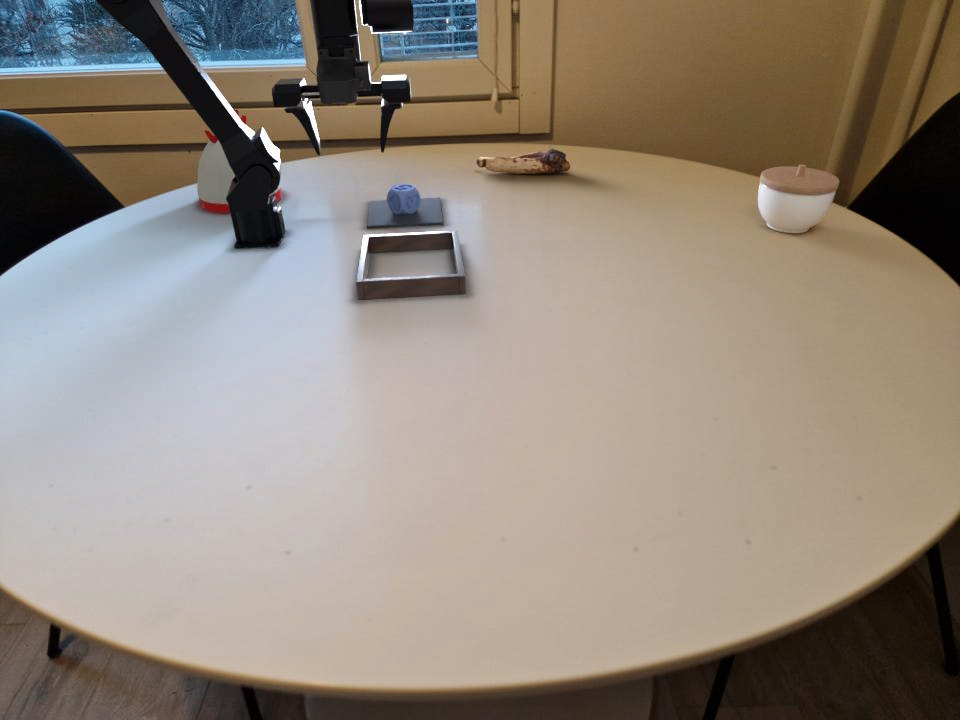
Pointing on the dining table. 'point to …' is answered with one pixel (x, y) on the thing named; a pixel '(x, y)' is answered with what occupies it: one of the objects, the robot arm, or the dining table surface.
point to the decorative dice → (403, 199)
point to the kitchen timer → (217, 176)
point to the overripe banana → (528, 163)
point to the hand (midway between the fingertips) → (351, 153)
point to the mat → (424, 215)
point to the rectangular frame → (415, 283)
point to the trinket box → (795, 197)
